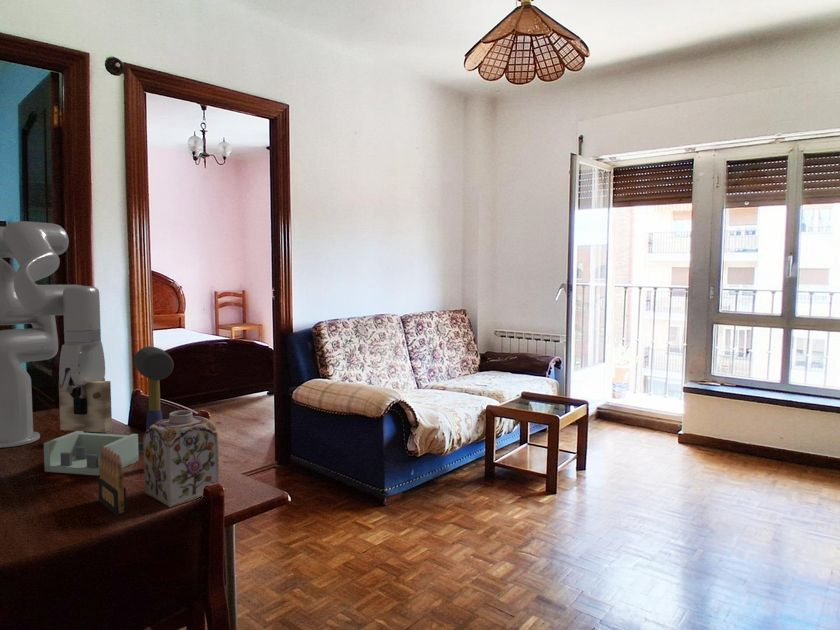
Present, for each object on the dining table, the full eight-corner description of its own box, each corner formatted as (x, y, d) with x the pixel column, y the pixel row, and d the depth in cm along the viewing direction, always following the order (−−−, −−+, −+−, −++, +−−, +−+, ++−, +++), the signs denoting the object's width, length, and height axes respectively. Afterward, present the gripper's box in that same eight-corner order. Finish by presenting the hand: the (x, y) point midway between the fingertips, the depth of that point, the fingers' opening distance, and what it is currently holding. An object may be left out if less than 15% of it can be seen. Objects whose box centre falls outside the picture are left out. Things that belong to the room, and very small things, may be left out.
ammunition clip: (98, 500, 118) (96, 445, 117) (108, 498, 119) (106, 443, 118) (116, 515, 110) (115, 456, 109) (126, 513, 112) (125, 454, 111)
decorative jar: (194, 479, 130) (192, 403, 129) (221, 491, 123) (220, 412, 122) (142, 494, 121) (140, 413, 120) (168, 509, 114) (166, 422, 112)
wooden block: (57, 430, 134) (55, 381, 133) (68, 427, 137) (66, 379, 136) (102, 433, 132) (100, 383, 131) (111, 429, 135) (110, 381, 135)
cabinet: (44, 471, 134) (43, 443, 133) (79, 456, 145) (78, 430, 144) (108, 476, 131) (107, 447, 131) (138, 460, 142) (138, 434, 142)
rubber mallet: (178, 472, 134) (175, 349, 132) (144, 478, 130) (141, 351, 128) (166, 458, 144) (163, 343, 142) (134, 463, 140) (131, 345, 138)
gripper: (93, 333, 142) (95, 404, 143) (41, 340, 126) (44, 420, 127) (119, 334, 141) (122, 405, 142) (71, 341, 125) (74, 422, 126)
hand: (85, 411), depth 135 cm, fingers closed on wooden block, 2 cm apart
